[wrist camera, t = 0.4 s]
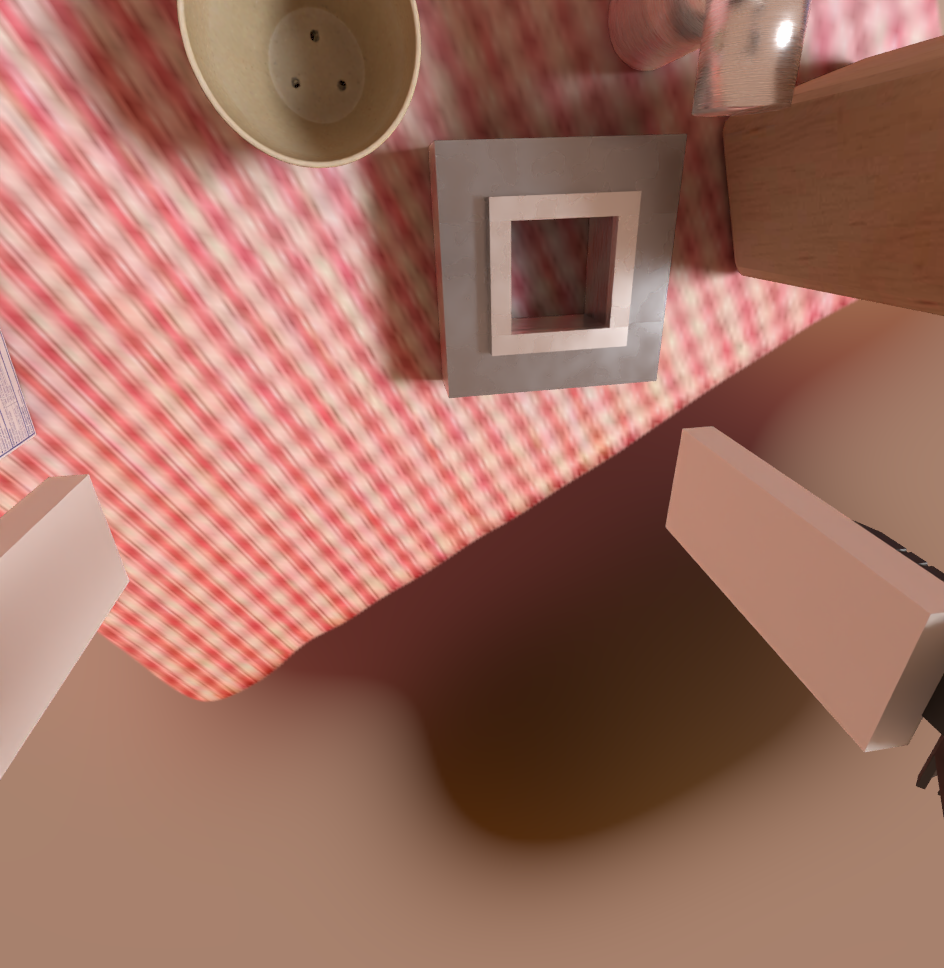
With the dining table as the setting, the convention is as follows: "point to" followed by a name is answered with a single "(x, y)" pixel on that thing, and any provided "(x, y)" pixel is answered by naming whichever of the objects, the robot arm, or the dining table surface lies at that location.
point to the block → (847, 182)
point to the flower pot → (306, 72)
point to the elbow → (718, 47)
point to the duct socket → (610, 259)
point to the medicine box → (12, 407)
